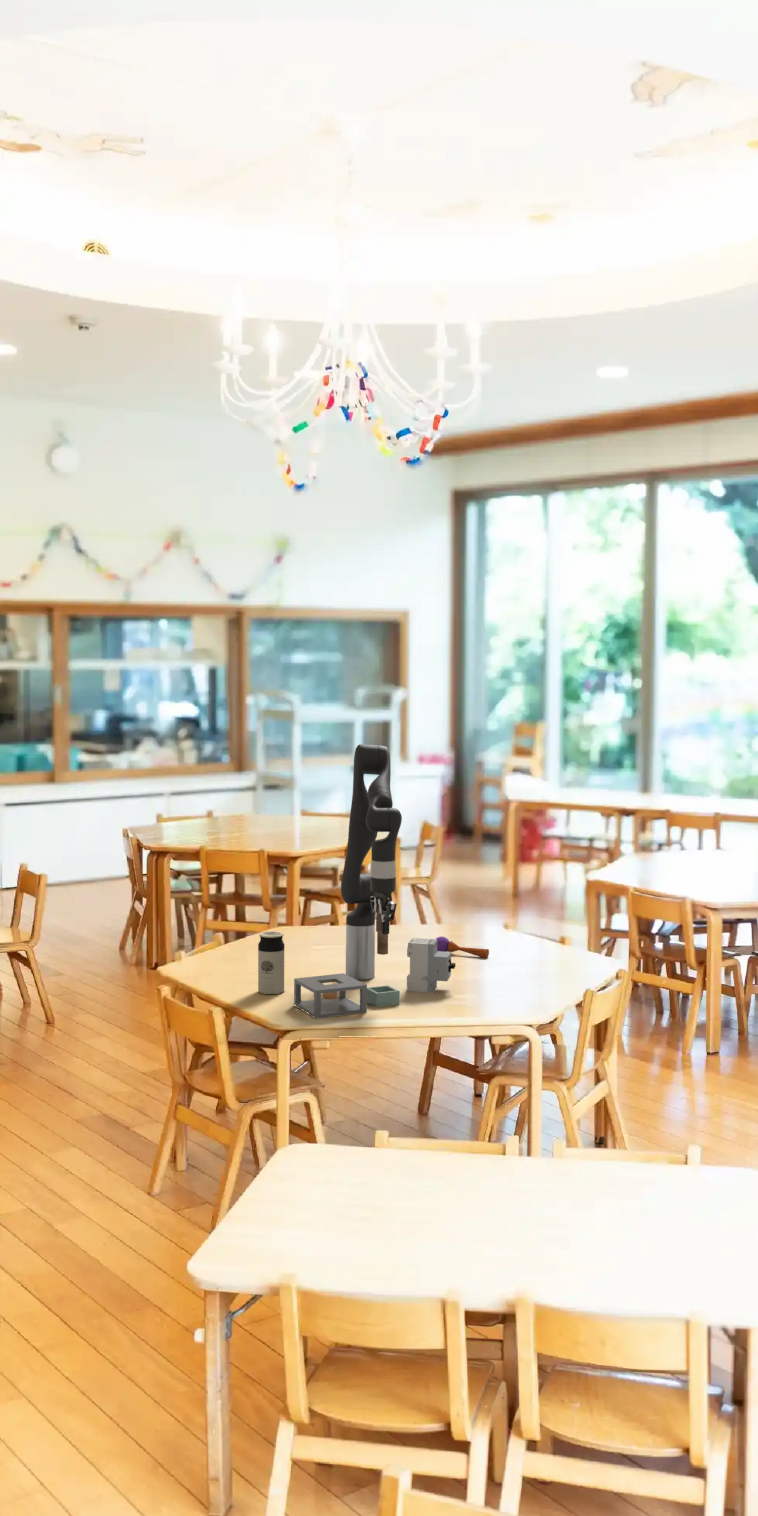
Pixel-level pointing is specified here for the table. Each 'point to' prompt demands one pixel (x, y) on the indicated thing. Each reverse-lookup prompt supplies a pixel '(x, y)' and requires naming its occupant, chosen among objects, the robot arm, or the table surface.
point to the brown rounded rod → (381, 936)
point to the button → (330, 995)
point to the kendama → (459, 948)
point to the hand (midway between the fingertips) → (382, 932)
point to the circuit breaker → (427, 965)
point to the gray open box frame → (334, 1006)
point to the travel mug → (271, 963)
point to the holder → (383, 996)
